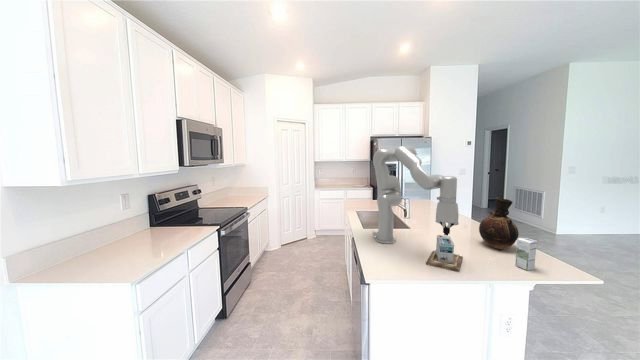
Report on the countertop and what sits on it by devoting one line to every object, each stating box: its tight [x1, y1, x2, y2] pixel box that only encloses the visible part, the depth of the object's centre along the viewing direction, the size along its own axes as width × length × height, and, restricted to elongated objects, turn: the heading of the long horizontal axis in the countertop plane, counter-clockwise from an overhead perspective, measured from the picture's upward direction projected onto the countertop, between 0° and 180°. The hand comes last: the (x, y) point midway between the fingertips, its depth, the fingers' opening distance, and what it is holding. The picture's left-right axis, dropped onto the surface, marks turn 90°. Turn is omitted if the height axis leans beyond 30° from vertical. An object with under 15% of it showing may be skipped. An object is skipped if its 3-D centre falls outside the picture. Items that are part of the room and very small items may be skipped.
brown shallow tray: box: [425, 249, 464, 273], centre depth 131 cm, size 15×18×2 cm
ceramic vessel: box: [478, 197, 519, 250], centre depth 148 cm, size 21×18×30 cm
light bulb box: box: [435, 234, 455, 264], centre depth 130 cm, size 11×7×11 cm, turn 164°
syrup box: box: [514, 237, 538, 272], centre depth 122 cm, size 6×6×14 cm
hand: (446, 234), depth 129 cm, fingers closed
